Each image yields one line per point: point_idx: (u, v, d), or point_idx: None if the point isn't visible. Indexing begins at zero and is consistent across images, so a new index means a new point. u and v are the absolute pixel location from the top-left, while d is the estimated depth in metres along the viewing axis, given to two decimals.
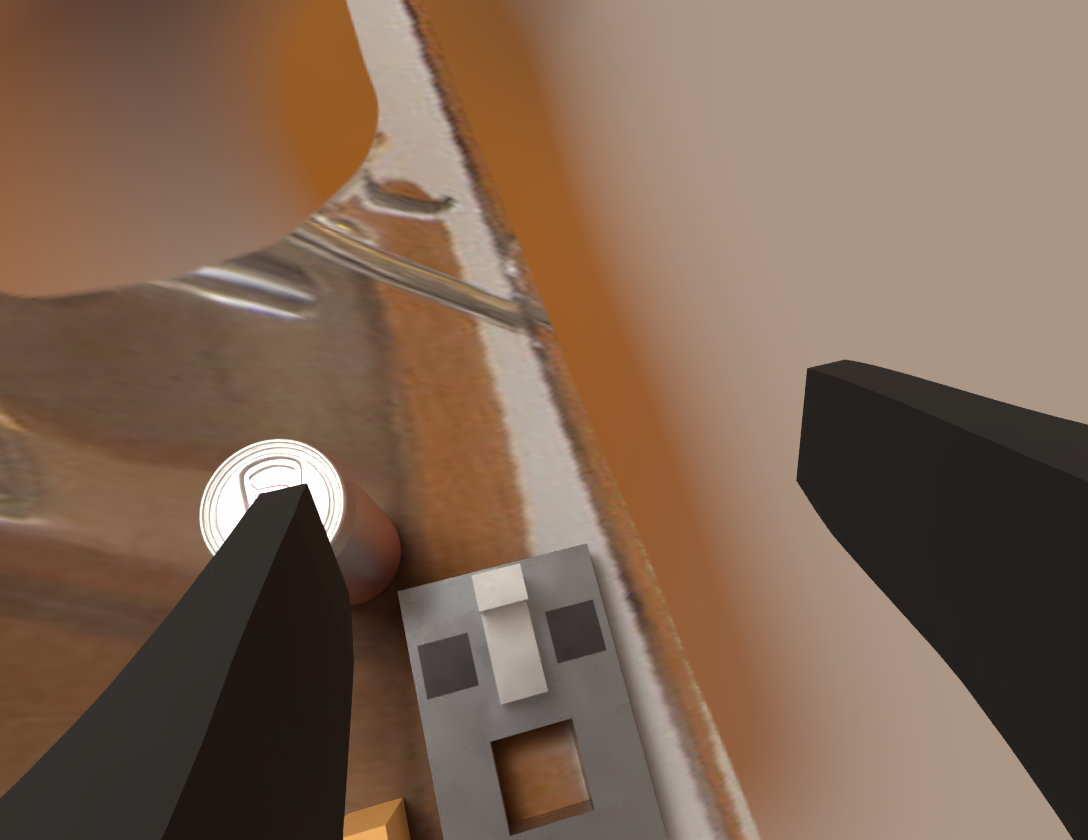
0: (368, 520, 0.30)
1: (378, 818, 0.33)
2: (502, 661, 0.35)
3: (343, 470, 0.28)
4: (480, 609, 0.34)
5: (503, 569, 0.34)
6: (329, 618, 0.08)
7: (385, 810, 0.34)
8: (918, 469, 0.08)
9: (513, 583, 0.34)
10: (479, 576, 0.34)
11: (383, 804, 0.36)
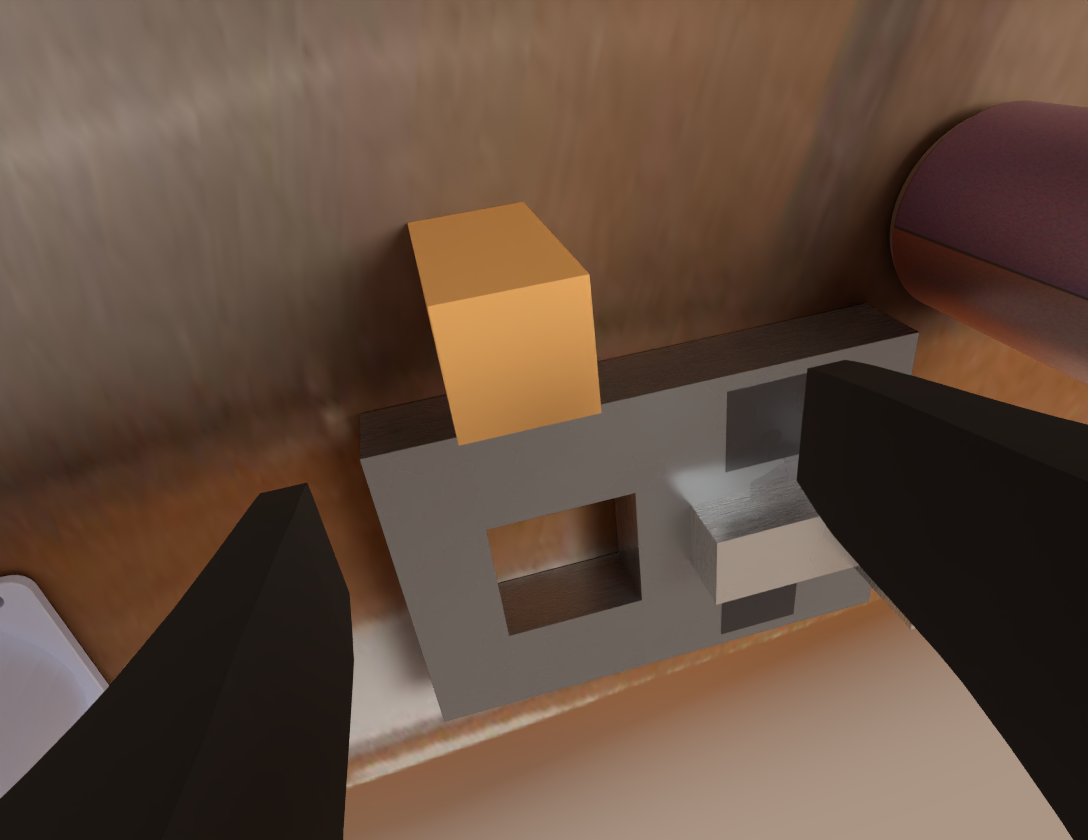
0: None
1: None
2: (780, 540, 0.20)
3: None
4: None
5: None
6: (329, 618, 0.08)
7: None
8: (918, 469, 0.08)
9: None
10: None
11: None
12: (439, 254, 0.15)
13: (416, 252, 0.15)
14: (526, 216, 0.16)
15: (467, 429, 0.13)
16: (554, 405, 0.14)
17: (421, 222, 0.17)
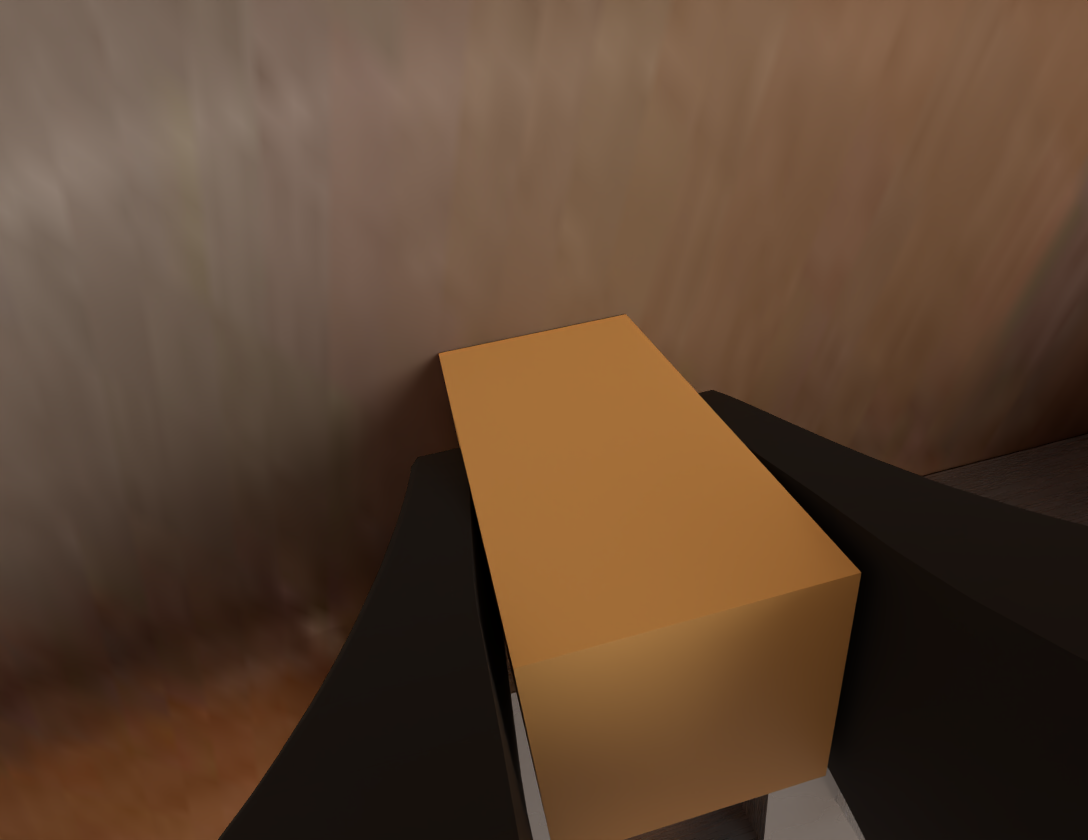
0: None
1: None
2: None
3: None
4: None
5: None
6: (489, 577, 0.09)
7: None
8: None
9: None
10: None
11: None
12: (507, 453, 0.08)
13: (463, 443, 0.08)
14: (644, 353, 0.10)
15: (575, 837, 0.07)
16: (744, 779, 0.07)
17: (461, 353, 0.10)
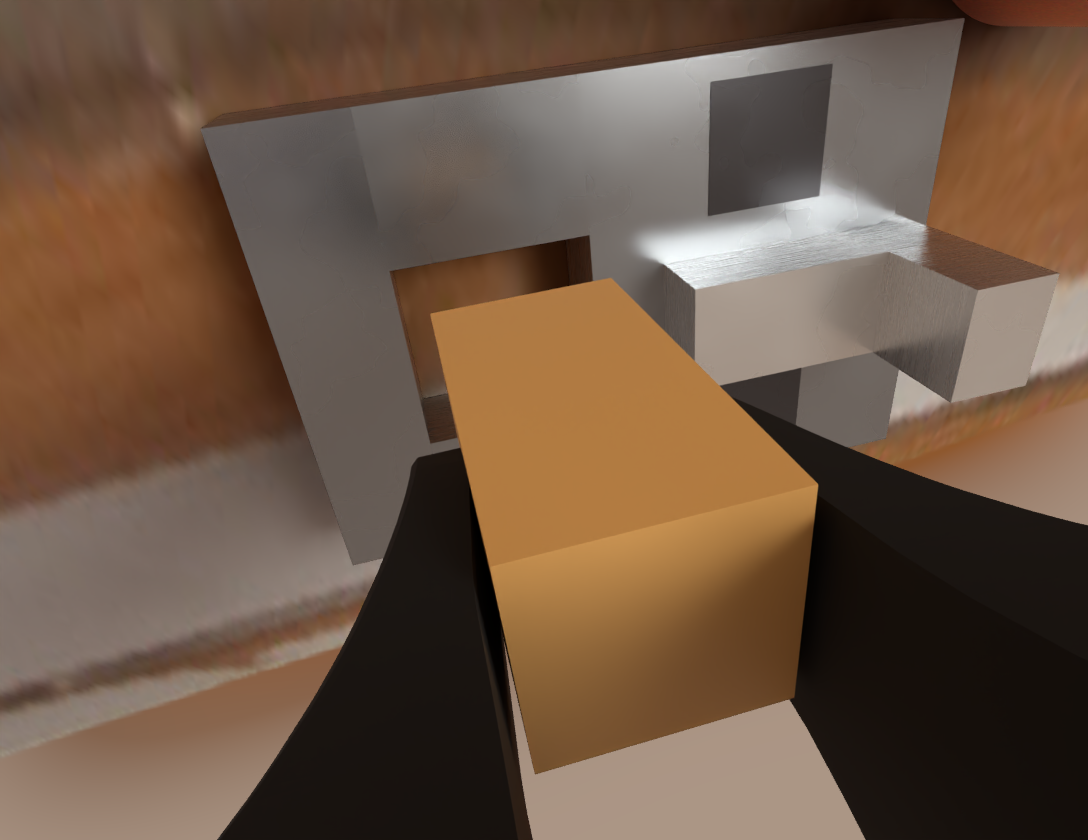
0: None
1: None
2: (779, 296, 0.15)
3: None
4: (981, 293, 0.13)
5: (1031, 349, 0.14)
6: (489, 577, 0.09)
7: None
8: None
9: (994, 372, 0.14)
10: (1047, 293, 0.13)
11: None
12: (491, 395, 0.08)
13: (451, 387, 0.08)
14: (627, 310, 0.10)
15: (553, 749, 0.07)
16: (715, 696, 0.07)
17: (451, 313, 0.11)
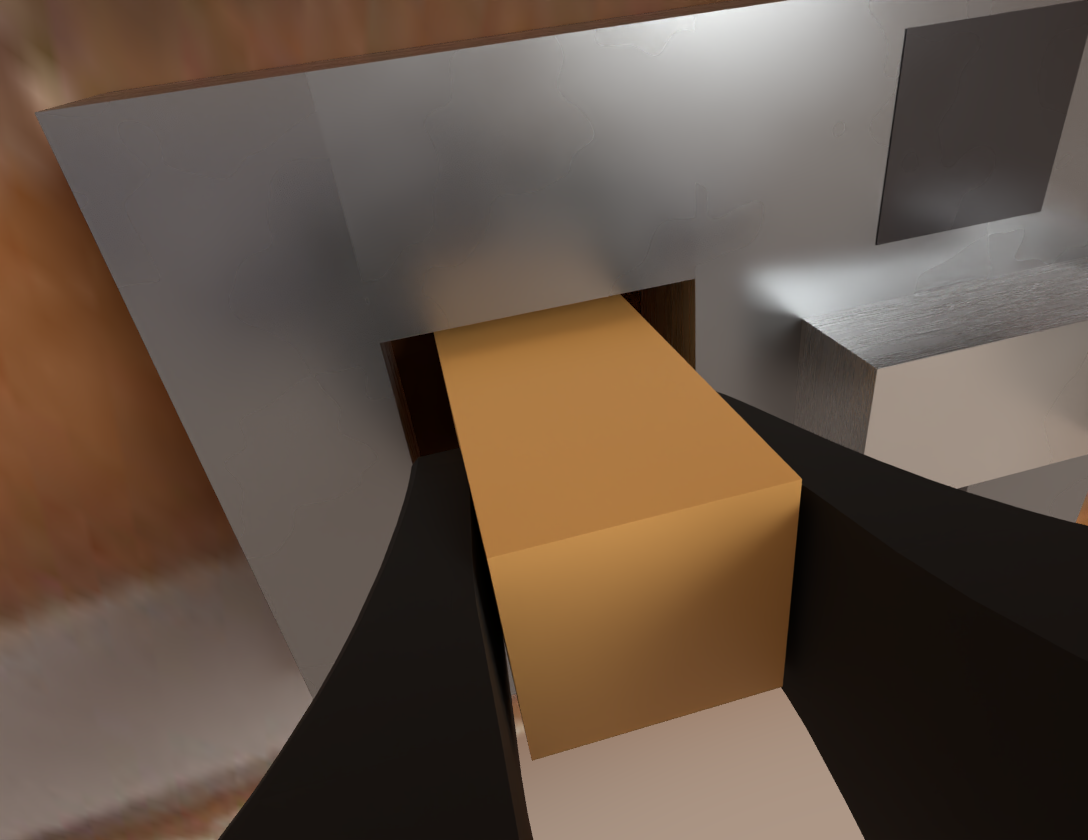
0: None
1: None
2: (1001, 374, 0.09)
3: None
4: None
5: None
6: (489, 577, 0.09)
7: None
8: None
9: None
10: None
11: None
12: (489, 394, 0.08)
13: (450, 387, 0.09)
14: (621, 312, 0.10)
15: (549, 736, 0.07)
16: (705, 685, 0.08)
17: None
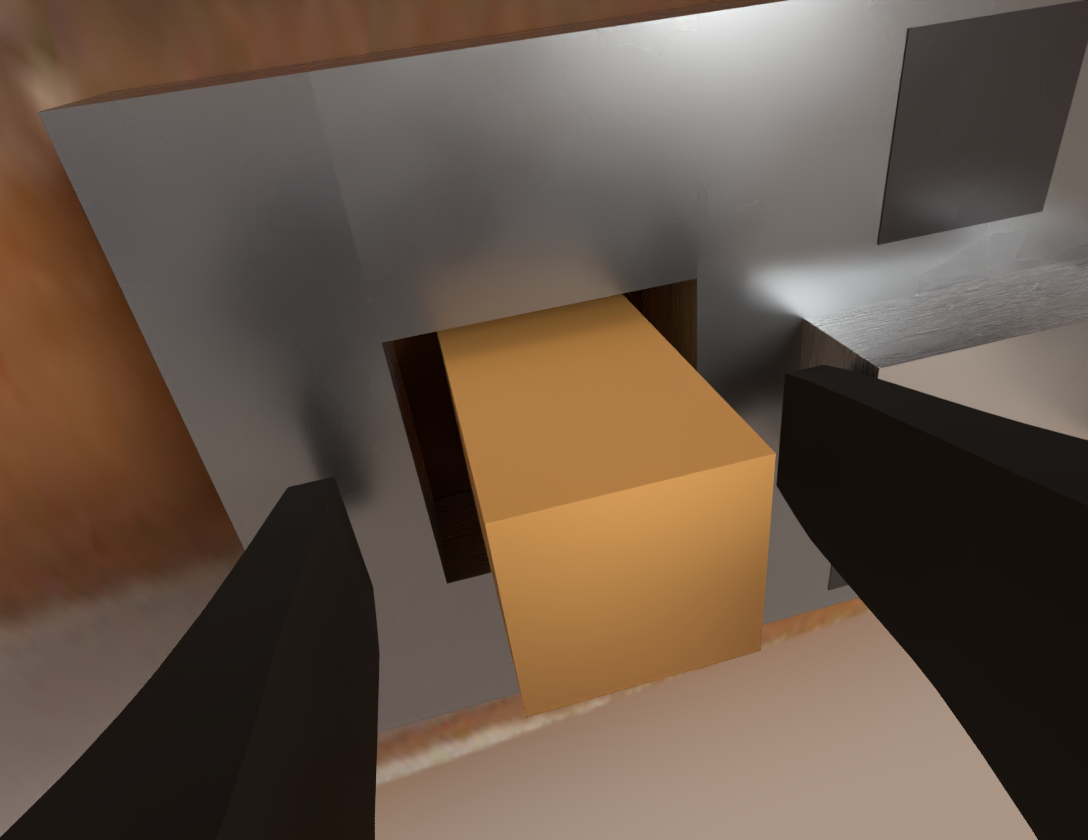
0: None
1: None
2: (1002, 374, 0.09)
3: None
4: None
5: None
6: (357, 611, 0.08)
7: None
8: (892, 476, 0.08)
9: None
10: None
11: None
12: (488, 376, 0.09)
13: (450, 370, 0.09)
14: (613, 300, 0.11)
15: (542, 694, 0.08)
16: (688, 648, 0.08)
17: None
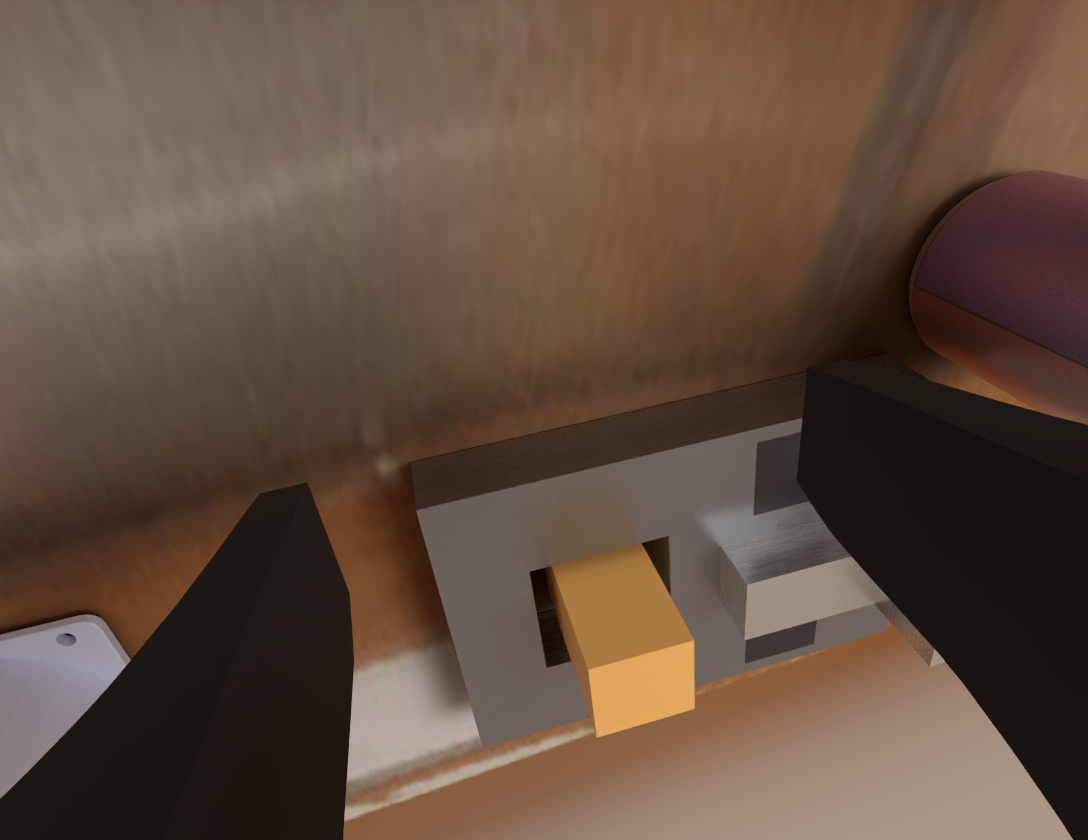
0: None
1: None
2: (806, 581, 0.21)
3: None
4: None
5: None
6: (329, 618, 0.08)
7: None
8: (918, 469, 0.08)
9: None
10: None
11: None
12: (576, 587, 0.20)
13: (558, 582, 0.21)
14: None
15: (603, 728, 0.19)
16: (663, 708, 0.20)
17: None
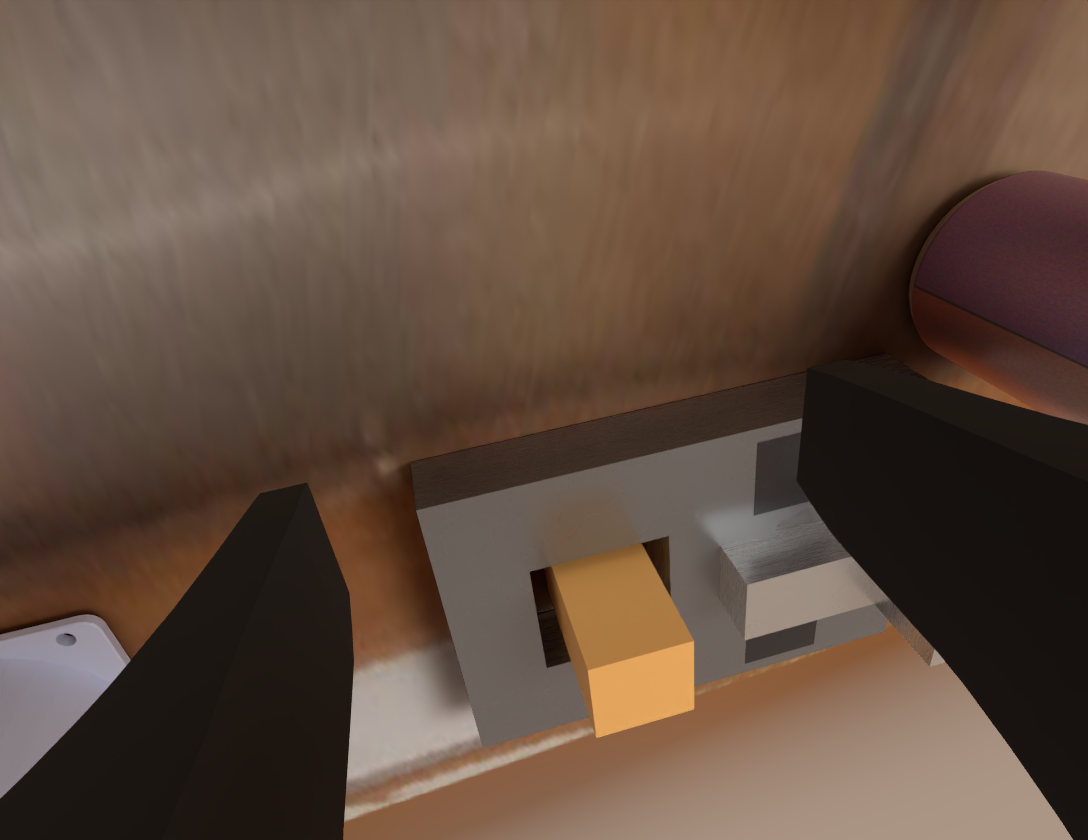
0: None
1: None
2: (806, 581, 0.21)
3: None
4: None
5: None
6: (329, 618, 0.08)
7: None
8: (918, 469, 0.08)
9: None
10: None
11: None
12: (576, 588, 0.20)
13: (558, 582, 0.21)
14: None
15: (603, 728, 0.19)
16: (663, 709, 0.20)
17: None
